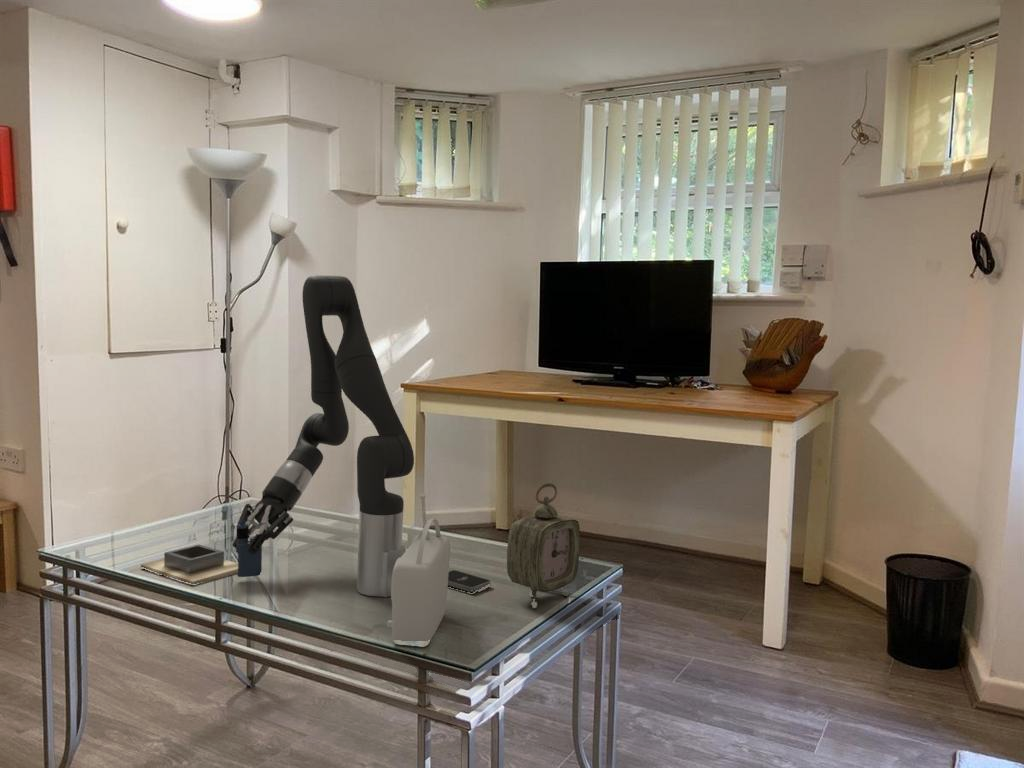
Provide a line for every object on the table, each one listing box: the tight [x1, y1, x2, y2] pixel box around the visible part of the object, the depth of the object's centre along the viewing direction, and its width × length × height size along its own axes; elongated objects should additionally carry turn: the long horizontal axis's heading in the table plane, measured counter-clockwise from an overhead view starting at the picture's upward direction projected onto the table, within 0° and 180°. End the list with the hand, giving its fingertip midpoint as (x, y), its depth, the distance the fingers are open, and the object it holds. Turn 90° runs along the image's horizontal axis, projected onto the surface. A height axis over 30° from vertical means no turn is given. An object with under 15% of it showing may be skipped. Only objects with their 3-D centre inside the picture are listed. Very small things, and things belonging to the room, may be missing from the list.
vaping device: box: [235, 520, 263, 578], centre depth 171 cm, size 3×5×12 cm, turn 110°
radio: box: [386, 493, 451, 641], centre depth 148 cm, size 22×8×25 cm, turn 175°
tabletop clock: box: [506, 482, 581, 600], centre depth 168 cm, size 14×9×25 cm, turn 139°
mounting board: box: [140, 558, 238, 584], centre depth 177 cm, size 18×14×1 cm
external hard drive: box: [448, 569, 492, 593], centre depth 175 cm, size 7×11×2 cm, turn 54°
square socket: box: [163, 543, 225, 574], centre depth 177 cm, size 9×9×3 cm
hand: (243, 549), depth 169 cm, fingers closed on vaping device, 4 cm apart
